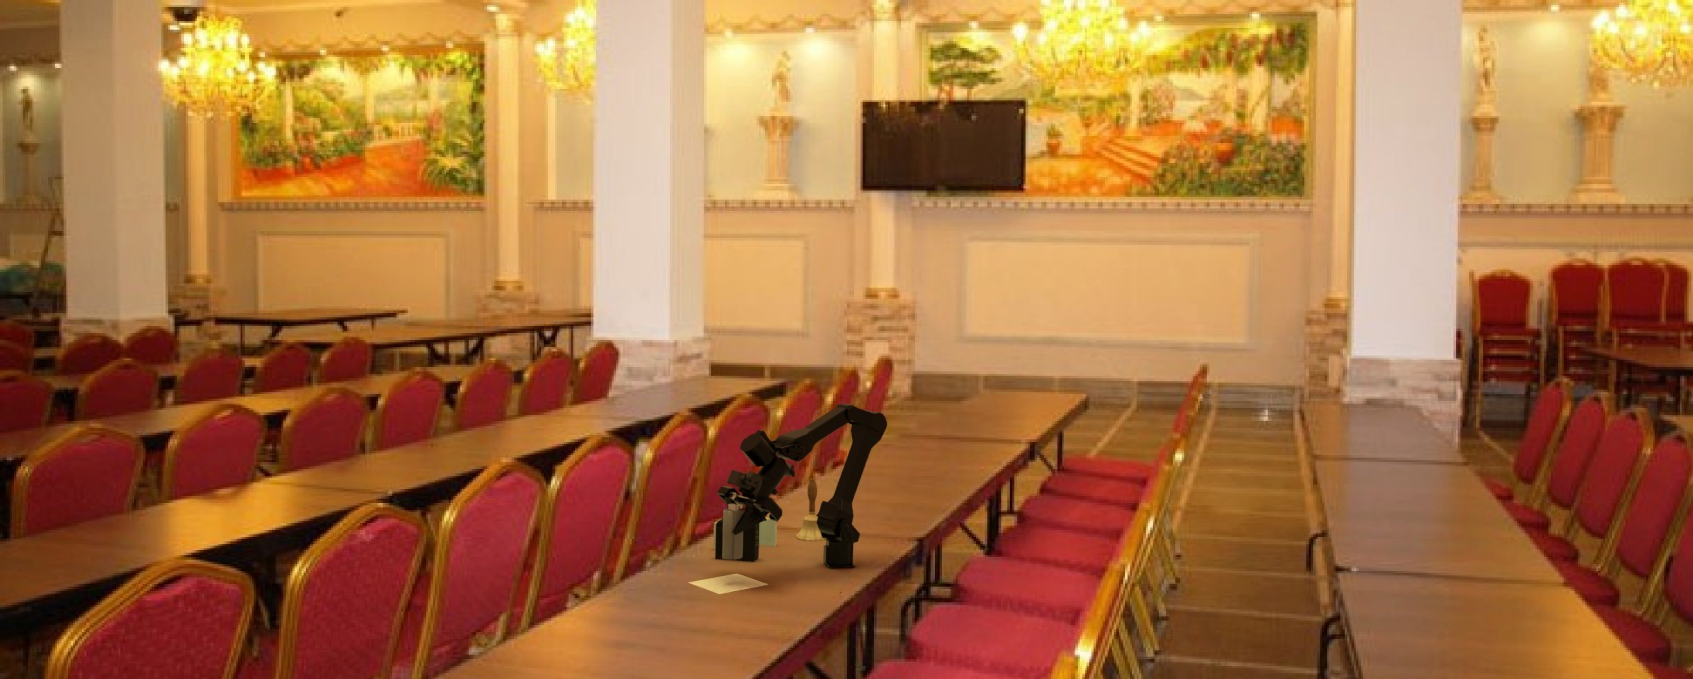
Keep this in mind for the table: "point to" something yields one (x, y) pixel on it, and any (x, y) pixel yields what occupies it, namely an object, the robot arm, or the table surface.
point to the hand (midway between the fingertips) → (728, 531)
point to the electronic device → (748, 543)
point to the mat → (728, 583)
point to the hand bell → (810, 517)
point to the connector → (731, 541)
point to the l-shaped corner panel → (762, 532)
